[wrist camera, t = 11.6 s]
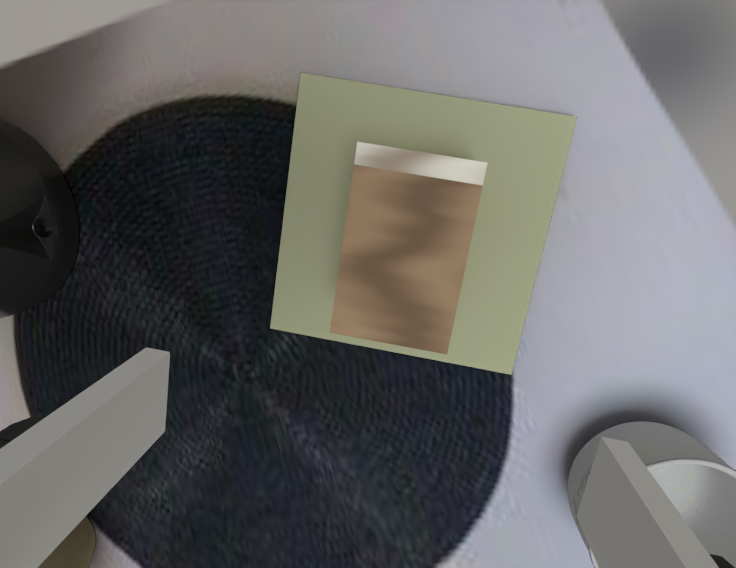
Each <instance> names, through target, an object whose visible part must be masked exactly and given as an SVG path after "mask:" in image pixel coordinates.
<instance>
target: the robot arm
mask: <svg viewBox="0 0 736 568" xmlns="http://www.w3.org/2000/svg"><path fill="white" fill-rule="evenodd" d="M78 244H79V223H78V215H77V210H76V206H75V202H74V199H73V196H72V193H71V191H70V188H69V186H68V184H67V182H66V180H65V178H64V176H63V174H62V173H61V171H60V169H59V168H58V167H57V165H56V164H55V162H54V161H53V160H52V158H51V157H50V156H49V155H48V154H47V152H46V151H45V150H44V149H43V148H42V147H41V146H40V145H39V144H38V143H36V142H35V141H34V140H33V139H32V138H30V137H29V136H28V135H26V134H25V133H24V132H22V131H21V130H19V129H17V128H15V127H14V126H12V125H10V124H8V123H6V122H3V121H0V318H2V317H6V316H10V315H13V314H16V313H19V312H21V311H24V310H26V309H29V308H32V307H34V306H36V305H39V304H40V303H42V302H44V301H46V300H47V299H49V298H50V297H51V296H52V295H54V294H55V293H56V292H57V291H58V290H59V288H60V287H61V286H62V285H63V284H64V282H65V281H66V279H67V278H68V276H69V274H70V272H71V270H72V268H73V265H74V262H75V259H76V255H77V251H78ZM169 362H170V352H167V351H162V350H157V349H152V348H145V349H143V350H142V351H140V352H139V353H138V354H136V355H135V356H133V357H132V358H130V359H129V360H128V361H126V362H125V363H123V364H122V365H120V366H119V367H117V368H116V369H115V370H113V371H112V372H110V373H109V374H107V375H106V376H104V377H103V378H102V379H100V380H99V381H97V382H96V383H94V384H93V385H92V386H90V387H89V388H87V389H86V390H84V391H83V392H81V393H80V394H79V395H77V396H76V397H74V398H73V399H71V400H70V401H68V402H67V403H66V404H64V405H63V406H61V407H60V408H58V409H57V410H56V411H54V412H53V413H51V414H50V415H48V416H47V417H45V418H42V417H37V416H33V417H30V418H28V419H25V420H22V421H20V422H17V423H14V424H12V425H10V426H8V427H7V428H5V429H4V430H2V431H1V432H0V568H38V567H39V566H40V564H41V563H42V562H43V561H44V560H45V559H46V558H47V557H48V556H49V555H50V554H51V553H52V552H53V551H54V549H55V548H56V547H57V546H58V545H59V544H60V543H61V542H62V541H63V540H64V539H65V538H66V537H67V536H68V534H69V533H70V532H71V531H72V530H73V529H74V528H75V527H76V526H77V525H78V524H79V523H80V522H81V521H82V519H83V518H84V517H85V516H86V515H87V514H88V513H89V512H90V511H91V510H92V509H93V508H94V507H95V506H96V504H97V503H98V502H99V501H100V500H101V499H102V498H103V497H104V496H105V495H106V494H107V493H108V492H109V491H110V489H111V488H112V487H113V486H114V485H115V484H116V483H117V482H118V481H119V480H120V479H121V478H122V477H123V476H124V474H125V473H126V472H127V471H128V470H129V469H130V468H131V467H132V466H133V465H134V464H135V463H136V462H137V461H138V459H139V458H140V457H141V456H142V455H143V454H144V453H145V452H146V451H147V450H148V449H149V448H150V447H151V446H152V444H153V443H154V442H155V441H156V440H157V439H158V438H159V437H160V436H161V435H162V434H163V433H164V432H165V422H166V407H167V392H168V377H169ZM577 518H578V520H579V523H580V525H581V527H582V530H583V532H584V534H585V537H586V539H587V541H588V544H589V546H590V548H591V551H592V553H593V555H594V557H595V560H596V562H597V564H598V567H599V568H735V567H734V566H733V565H731V564H730V563H729V562H728V561H727V560H726V559H724V558H723V557H722V556H718V555H713V554H709V553H708V552H707V550H706V549H705V548H704V546H703V545H702V543H701V542H700V541H699V539H698V538H697V537H696V535H695V534H694V532H693V531H692V530H691V528H690V527H689V526H688V524H687V523H686V521H685V520H684V519H683V517H682V516H681V514H680V513H679V512H678V510H677V509H676V508H675V506H674V505H673V503H672V502H671V501H670V499H669V498H668V496H667V495H666V494H665V492H664V491H663V490H662V488H661V487H660V485H659V484H658V483H657V481H656V480H655V479H654V477H653V476H652V474H651V473H650V472H649V470H648V469H647V467H646V466H645V465H644V463H643V462H642V461H641V459H640V458H639V456H638V455H637V454H636V452H635V451H634V449H633V448H632V447H631V445H630V444H629V443H628V442H627V441H621V440H616V439H611V438H606V437H601V439H600V443H599V446H598V449H597V452H596V455H595V458H594V462H593V465H592V468H591V471H590V474H589V478H588V481H587V484H586V487H585V490H584V493H583V497H582V500H581V503H580V506H579V509H578V512H577Z"/></svg>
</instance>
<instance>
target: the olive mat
mask: <svg viewBox="0 0 736 568" xmlns="http://www.w3.org/2000/svg"><path fill="white" fill-rule="evenodd" d="M576 119H577V117H576V116H569V115H563V114H557V113H551V112H544V111H538V110H532V109H526V108H519V107H513V106H507V105H501V104H494V103H488V102H482V101H476V100H469V99H463V98H457V97H451V96H444V95H438V94H432V93H426V92H419V91H413V90H407V89H401V88H394V87H388V86H382V85H376V84H369V83H363V82H357V81H351V80H344V79H338V78H332V77H326V76H319V75H313V74H307V73H301V74H300V83H299V91H298V99H297V108H296V116H295V124H294V133H293V141H292V150H291V158H290V166H289V175H288V183H287V191H286V200H285V208H284V217H283V225H282V233H281V242H280V250H279V258H278V267H277V275H276V283H275V292H274V300H273V309H272V317H271V325H270V328H271V329H276V330H281V331H286V332H292V333H297V334H302V335H307V336H313V337H318V338H323V339H328V340H333V341H339V342H344V343H349V344H354V345H359V346H365V347H370V348H375V349H380V350H386V351H391V352H396V353H401V354H406V355H412V356H417V357H422V358H427V359H432V360H438V361H443V362H448V363H453V364H458V365H464V366H469V367H474V368H479V369H485V370H490V371H495V372H500V373H505V374H512V370H513V366H514V362H515V359H516V355H517V351H518V347H519V343H520V339H521V335H522V331H523V327H524V323H525V319H526V315H527V311H528V307H529V304H530V300H531V296H532V292H533V288H534V284H535V280H536V276H537V272H538V268H539V264H540V260H541V256H542V252H543V249H544V245H545V241H546V237H547V233H548V229H549V225H550V221H551V217H552V213H553V209H554V205H555V201H556V197H557V194H558V190H559V186H560V182H561V178H562V174H563V170H564V166H565V162H566V158H567V154H568V150H569V146H570V143H571V139H572V135H573V131H574V127H575V123H576ZM357 142H362V143H369V144H375V145H381V146H387V147H393V148H400V149H406V150H412V151H418V152H424V153H431V154H437V155H443V156H449V157H455V158H462V159H468V160H474V161H480V162H486V163H487V168H486V173H485V177H484V182H483V187H482V192H481V196H480V201H479V206H478V211H477V215H476V220H475V225H474V230H473V234H472V239H471V244H470V249H469V253H468V258H467V263H466V268H465V272H464V277H463V282H462V286H461V291H460V296H459V301H458V305H457V310H456V315H455V320H454V324H453V329H452V334H451V339H450V343H449V348H448V353H447V354H441V353H436V352H431V351H425V350H420V349H414V348H409V347H404V346H398V345H393V344H387V343H382V342H377V341H371V340H366V339H361V338H355V337H350V336H344V335H339V334H334V333H330V326H331V319H332V312H333V305H334V299H335V292H336V285H337V278H338V271H339V264H340V257H341V250H342V244H343V237H344V230H345V223H346V216H347V209H348V202H349V196H350V189H351V182H352V175H353V168H354V161H355V154H356V147H357Z"/></svg>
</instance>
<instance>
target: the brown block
mask: <svg viewBox="0 0 736 568" xmlns="http://www.w3.org/2000/svg"><path fill="white" fill-rule="evenodd" d="M486 168H487V163H486V162H480V161H474V160H468V159H462V158H455V157H449V156H443V155H437V154H431V153H424V152H418V151H412V150H406V149H400V148H393V147H387V146H381V145H375V144H369V143H362V142H357V147H356V154H355V161H354V168H353V175H352V182H351V189H350V196H349V202H348V209H347V216H346V223H345V230H344V237H343V244H342V250H341V257H340V264H339V271H338V278H337V285H336V292H335V299H334V305H333V312H332V319H331V326H330V333H334V334H339V335H344V336H350V337H355V338H361V339H366V340H371V341H377V342H382V343H387V344H393V345H398V346H404V347H409V348H414V349H420V350H425V351H431V352H436V353H441V354H447V353H448V348H449V343H450V339H451V334H452V329H453V324H454V320H455V315H456V310H457V305H458V301H459V296H460V291H461V286H462V282H463V277H464V272H465V268H466V263H467V258H468V253H469V249H470V244H471V239H472V234H473V230H474V225H475V220H476V215H477V211H478V206H479V201H480V196H481V192H482V187H483V182H484V177H485V173H486Z"/></svg>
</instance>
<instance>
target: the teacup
mask: <svg viewBox="0 0 736 568" xmlns="http://www.w3.org/2000/svg"><path fill="white" fill-rule="evenodd" d="M601 437H606V438H611V439H616V440H621V441H627V442H628V443H629V444H630V445H631V447H632V448H633V449H634V451H635V452H636V454H637V455H638V456H639V458H640V459H641V461H642V462H643V463H644V465H645V466H646V467H647V469H648V470H649V472H650V473H651V474H652V476H653V477H654V479H655V480H656V481H657V483H658V484H659V485H660V487H661V488H662V490H663V491H664V492H665V494H666V495H667V496H668V498H669V499H670V501H671V502H672V503H673V505H674V506H675V508H676V509H677V510H678V512H679V513H680V514H681V516H682V517H683V519H684V520H685V521H686V523H687V524H688V526H689V527H690V528H691V530H692V531H693V532H694V534H695V535H696V537H697V538H698V539H699V541H700V542H701V543H702V545H703V546H704V548H705V549H706V550H707V552H708V553H709V554H713V555H718V556H722V557H723V558H724V559H726V560H727V561H728V562H729V563H730V564H731V565H733V566H734V567H735V568H736V470H734V469H732V468H731V467H730V466H729V465H727V464H726V463H725V462H724V461H723V460H722V459H721V458H719V457H718V456H717V455H716V454H715V453H713V452H712V451H711V450H710V449H708V448H707V447H706V446H704V445H703V444H702V443H700V442H699V441H697V440H696V439H695V438H693V437H692V436H690V435H688V434H687V433H685V432H683V431H681V430H679V429H676V428H674V427H671V426H668V425H665V424H660V423H655V422H640V421H637V422H628V423H623V424H620V425H616V426H613V427H611V428H609V429H606V430H604V431H602V432H601V433H599V434H598V435H596V436H595V437H593V438H592V439H591V440H590V441H589V442H587V443H586V445H585V446H584V447H583V448H582V449H581V450H580V452H579V453H578V455H577V456H576V458H575V460H574V462H573V464H572V467H571V470H570V473H569V478H568V499H569V504H570V508H571V512H572V515H573V518H574V520H575V523H576V525H577V527H578V530H579V532H580V534H581V536H582V539H583V541H584V543H585V545H586V547H587V549H588V551H589V554H590V558H591V561H592V564H593V566H594V567H595V568H599V567H598V564H597V562H596V560H595V557H594V555H593V553H592V551H591V548H590V546H589V544H588V541H587V539H586V537H585V534H584V532H583V530H582V527H581V525H580V523H579V520H578V518H577V512H578V509H579V506H580V503H581V500H582V497H583V493H584V490H585V487H586V484H587V481H588V478H589V474H590V471H591V468H592V465H593V462H594V458H595V455H596V452H597V449H598V446H599V443H600V439H601Z"/></svg>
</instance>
